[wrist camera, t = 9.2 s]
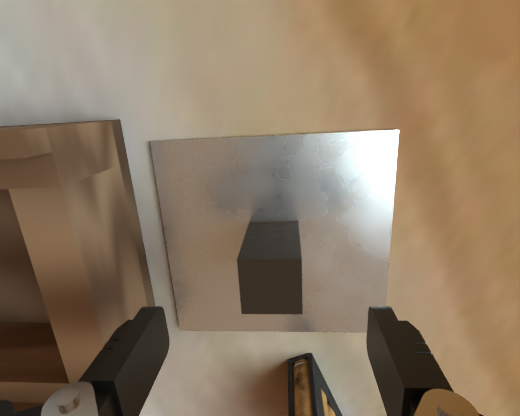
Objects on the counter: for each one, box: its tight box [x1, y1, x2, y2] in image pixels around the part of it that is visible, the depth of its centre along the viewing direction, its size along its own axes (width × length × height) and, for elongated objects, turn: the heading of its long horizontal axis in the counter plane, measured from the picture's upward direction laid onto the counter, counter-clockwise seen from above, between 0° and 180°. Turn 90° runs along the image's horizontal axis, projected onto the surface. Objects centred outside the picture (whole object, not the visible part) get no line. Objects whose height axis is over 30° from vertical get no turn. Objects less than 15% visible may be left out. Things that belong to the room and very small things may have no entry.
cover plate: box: [150, 129, 399, 332], centre depth 18 cm, size 13×14×6 cm
